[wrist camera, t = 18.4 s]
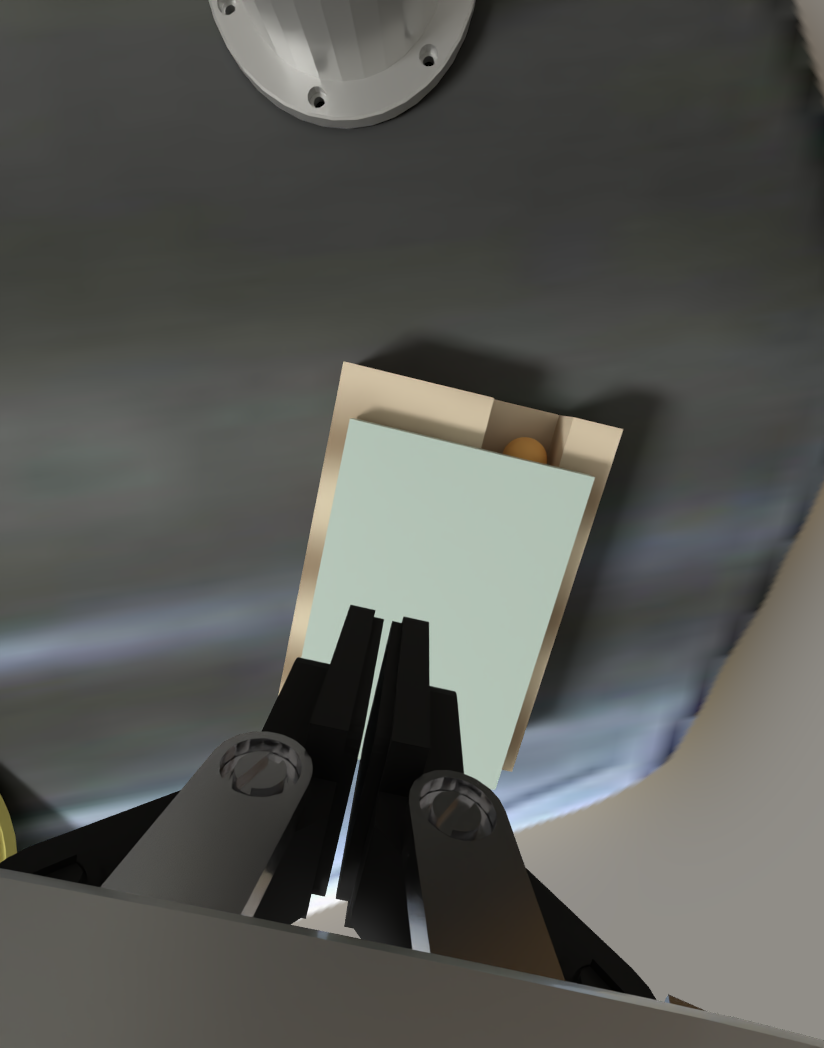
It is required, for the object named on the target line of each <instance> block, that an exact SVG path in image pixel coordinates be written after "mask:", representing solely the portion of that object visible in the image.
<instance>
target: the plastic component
mask: <svg viewBox="0 0 824 1048" xmlns="http://www.w3.org/2000/svg"><path fill="white" fill-rule="evenodd" d="M16 853H17V848H16V838H15V832H14V829H13V825H12V822H11V818H10V815H9V812H8V810H7V807H6V805H5V803H4V800H3V798H2V796H1V795H0V863H1V862H2V861H4V860H5V859H6V858H8V857H10V856H12V855H14V854H16Z"/></svg>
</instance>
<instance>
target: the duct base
mask: <svg viewBox="0 0 824 1048" xmlns="http://www.w3.org/2000/svg"><path fill="white" fill-rule="evenodd" d="M351 418H356V419H360V420H364V421H368V422H372V423H376V424H380V425H385V426H389V427H393V428H397V429H401V430H405V431H410V432H414V433H418V434H422V435H426V436H430V437H435V438H439V439H443V440H447V441H451V442H455V443H460V444H464V445H468V446H472V447H476V448H480V449H485V450H489V451H493V452H497V453H501V454H502V453H503V450H504V449H505V447H506V446H507V445H508V444H509V443H510V442H511V441H512V440H515V439H517V438H521V437H529V438H532V439H535V440H537V441H538V442H539V443H540V444H542V446H543V447H544V449H545V451H546V454H547V465H551V466H555V467H560V468H564V469H568V470H572V471H576V472H580V473H585V474H589V475H591V476H593V477H595V479H594V482H593V485H592V488H591V492H590V495H589V498H588V501H587V504H586V507H585V510H584V514H583V517H582V520H581V523H580V526H579V529H578V532H577V535H576V539H575V542H574V545H573V548H572V551H571V554H570V557H569V560H568V564H567V567H566V570H565V573H564V576H563V579H562V582H561V586H560V589H559V592H558V595H557V598H556V601H555V604H554V607H553V611H552V614H551V617H550V620H549V623H548V626H547V629H546V632H545V636H544V639H543V642H542V645H541V648H540V651H539V654H538V658H537V661H536V664H535V667H534V670H533V673H532V676H531V679H530V683H529V686H528V689H527V692H526V695H525V698H524V701H523V705H522V708H521V711H520V714H519V717H518V720H517V723H516V726H515V730H514V733H513V736H512V739H511V742H510V745H509V748H508V751H507V755H506V758H505V761H504V764H503V767H502V770H507V771H511V772H512V770H513V767H514V764H515V760H516V757H517V754H518V751H519V748H520V745H521V742H522V739H523V736H524V733H525V730H526V727H527V724H528V721H529V717H530V714H531V711H532V708H533V705H534V702H535V699H536V696H537V693H538V690H539V687H540V684H541V681H542V678H543V674H544V671H545V668H546V665H547V662H548V659H549V656H550V653H551V650H552V647H553V644H554V641H555V638H556V634H557V631H558V628H559V625H560V622H561V619H562V616H563V613H564V610H565V607H566V604H567V601H568V598H569V595H570V591H571V588H572V585H573V582H574V579H575V576H576V573H577V570H578V567H579V564H580V561H581V558H582V555H583V552H584V548H585V545H586V542H587V539H588V536H589V533H590V530H591V527H592V524H593V521H594V518H595V515H596V512H597V508H598V505H599V502H600V499H601V496H602V493H603V490H604V487H605V484H606V481H607V478H608V475H609V472H610V469H611V465H612V462H613V459H614V456H615V453H616V450H617V447H618V444H619V441H620V438H621V435H622V432H623V429H620V428H616V427H612V426H608V425H604V424H599V423H595V422H591V421H587V420H583V419H579V418H575V417H569V416H562V415H557V414H553V413H549V412H544V411H540V410H536V409H532V408H528V407H524V406H520V405H516V404H511V403H507V402H503V401H499V400H495V399H494V398H492V397H488V396H484V395H480V394H476V393H472V392H467V391H463V390H459V389H455V388H451V387H447V386H443V385H439V384H434V383H430V382H426V381H422V380H418V379H414V378H410V377H406V376H401V375H397V374H393V373H389V372H385V371H381V370H377V369H373V368H368V367H364V366H360V365H356V364H352V363H348V362H343V367H342V372H341V377H340V383H339V388H338V393H337V398H336V403H335V408H334V413H333V418H332V424H331V429H330V434H329V439H328V444H327V449H326V454H325V459H324V465H323V470H322V475H321V480H320V485H319V490H318V495H317V500H316V505H315V511H314V516H313V521H312V526H311V531H310V536H309V541H308V546H307V552H306V557H305V562H304V567H303V572H302V577H301V582H300V587H299V592H298V598H297V603H296V608H295V613H294V618H293V623H292V628H291V633H290V639H289V644H288V649H287V654H286V659H285V664H284V669H283V674H282V679H281V685H280V690H279V693H280V691H281V689H282V687H283V685H284V683H285V681H286V679H287V676H288V674H289V672H290V670H291V668H292V666H293V664H294V662H295V660H296V658H297V657H300V658H301V657H302V652H303V647H304V642H305V637H306V632H307V627H308V622H309V617H310V612H311V607H312V603H313V598H314V593H315V588H316V583H317V578H318V573H319V568H320V563H321V558H322V553H323V548H324V543H325V539H326V534H327V529H328V524H329V519H330V514H331V509H332V504H333V499H334V494H335V489H336V484H337V479H338V475H339V470H340V465H341V460H342V455H343V450H344V445H345V440H346V435H347V430H348V425H349V420H350V419H351ZM278 696H279V695H278Z"/></svg>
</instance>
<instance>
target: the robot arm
mask: <svg viewBox="0 0 824 1048" xmlns="http://www.w3.org/2000/svg"><path fill="white" fill-rule="evenodd" d="M475 1H476V0H209V3H210V6H211V10H212V13H213V17H214V20H215V22H216V24H217V26H218V29H219V31H220V33H221V35H222V37H223V39H224V42H225V44H226V46H227V48H228V49H229V51H230V53H231V54H232V56H233V58H234V59H235V61H236V63H237V64H238V66H239V67H240V69H241V70H242V71H243V73H244V74H245V75H246V76H247V78H248V79H249V80H250V81H251V82H252V84H253V85H254V86H255V87H256V89H257V90H258V91H259V92H261V93H262V94H263V95H264V96H265V97H266V98H268V99H269V100H270V101H271V102H272V103H274V104H275V105H276V106H277V107H279V108H280V109H282V110H284V111H286V112H288V113H289V114H291V115H293V116H295V117H297V118H298V119H300V120H303V121H307V122H310V123H313V124H316V125H320V126H323V127H332V128H344V129H350V128H358V127H365V126H372V125H375V124H378V123H380V122H383V121H386V120H389V119H391V118H394V117H396V116H398V115H399V114H401V113H403V112H404V111H406V110H407V109H409V108H411V107H412V106H414V105H415V104H417V103H418V102H419V101H420V100H421V99H422V98H423V97H424V96H426V95H427V94H428V93H429V92H430V91H431V90H432V89H433V88H434V87H435V86H436V85H437V84H438V82H439V81H440V80H441V78H442V77H443V76H444V74H445V73H446V72H447V70H448V69H449V67H450V66H451V65H452V63H453V62H454V60H455V58H456V56H457V53H458V51H459V49H460V47H461V45H462V43H463V41H464V39H465V37H466V34H467V31H468V28H469V25H470V21H471V18H472V15H473V11H474V8H475ZM232 12H233V13H232ZM230 13H232V14H230ZM426 62H432V63H433V65H432V66H425V65H424V64H425V63H426ZM319 102H323V103H325V104H324V105H323V106H322V107H320V108H316V105H317V103H319ZM375 611H376V610H373V609H368V608H364V607H359V606H355V605H350V607H349V610H348V613H347V616H346V619H345V622H344V625H343V628H342V630H341V633H340V636H339V639H338V642H337V645H336V648H335V651H334V654H333V657H332V660H331V663H330V664H327V663H323V662H318V661H314V660H309V659H304V658H300V657H297V658H296V660H295V662H294V664H293V666H292V668H291V670H290V672H289V674H288V676H287V679H286V681H285V683H284V685H283V687H282V689H281V691H280V693H279V696H278V698H277V700H276V702H275V704H274V706H273V708H272V710H271V713H270V715H269V717H268V719H267V721H266V723H265V725H264V727H263V730H262V732H249V733H244V734H239V735H237V736H234V737H232V738H230V739H228V740H226V741H224V742H223V743H222V744H221V745H220V746H219V747H217V748H216V749H215V750H214V751H213V752H212V754H211V755H210V756H209V757H208V758H207V760H206V761H205V762H204V763H203V764H202V766H201V767H200V768H199V769H198V770H197V772H196V773H195V774H194V775H193V776H192V778H191V779H190V780H189V781H188V782H187V784H186V785H185V786H184V787H183V788H182V790H180V791H177V792H175V793H172V794H169V795H167V796H164V797H161V798H159V799H156V800H153V801H151V802H148V803H145V804H143V805H140V806H137V807H135V808H132V809H129V810H127V811H124V812H121V813H119V814H116V815H113V816H110V817H108V818H105V819H102V820H100V821H97V822H94V823H92V824H89V825H86V826H84V827H81V828H78V829H76V830H73V831H70V832H68V833H65V834H62V835H60V836H57V837H54V838H52V839H49V840H46V841H44V842H41V843H38V844H36V845H33V846H30V847H28V848H26V849H24V850H22V851H20V852H18V853H16V854H14V855H12V856H10V857H8V858H6V859H5V860H4V861H2V862H1V863H0V1048H824V1040H821V1039H817V1038H813V1037H810V1036H806V1035H802V1034H798V1033H794V1032H790V1031H786V1030H782V1029H778V1028H774V1027H771V1026H767V1025H763V1024H759V1023H755V1022H751V1021H747V1020H743V1019H739V1018H735V1017H730V1016H725V1015H720V1014H716V1013H711V1012H707V1011H705V1010H703V1009H701V1008H698V1007H696V1006H694V1005H691V1004H689V1003H687V1002H685V1001H682V1000H680V999H678V998H675V997H673V996H671V995H669V994H668V996H667V998H666V1000H665V1002H662V1001H657V1000H656V998H655V997H654V995H653V994H652V992H651V990H650V989H649V987H648V986H647V985H646V984H645V982H644V981H643V980H642V979H641V978H640V977H639V976H638V975H637V973H636V972H635V971H634V970H633V969H632V968H631V967H630V966H629V965H628V964H627V963H626V962H625V961H624V960H623V959H622V958H620V957H619V956H618V955H617V954H616V953H615V952H614V951H613V950H612V949H611V948H610V947H609V946H608V945H607V944H606V943H604V941H603V940H601V939H600V938H599V937H598V936H597V935H596V934H595V933H594V932H593V931H592V930H591V929H590V928H589V927H588V926H587V925H586V924H585V923H583V922H582V921H581V920H580V919H579V918H578V917H577V916H576V915H575V914H574V913H573V912H572V911H571V910H570V909H569V908H568V907H567V906H566V905H564V904H563V903H562V902H561V901H560V900H559V899H558V898H557V897H556V896H555V895H554V894H553V893H552V892H551V891H550V890H549V889H548V888H547V887H545V886H544V885H543V884H542V883H541V882H540V881H539V880H538V879H537V878H536V877H535V876H534V875H533V874H532V873H531V872H530V871H529V870H528V869H526V868H525V865H524V862H523V860H522V857H521V854H520V851H519V848H518V845H517V842H516V840H515V837H514V834H513V831H512V828H511V825H510V822H509V820H508V817H507V814H506V811H505V809H504V807H503V806H502V804H501V802H500V800H499V798H498V797H497V796H496V795H495V794H494V793H493V792H492V791H491V790H490V789H489V788H488V787H487V786H485V785H484V784H483V783H481V782H480V781H478V780H477V779H475V778H473V777H471V776H468V775H466V774H464V766H463V755H462V745H461V734H460V723H459V712H458V701H457V694H456V692H455V691H451V690H447V689H442V688H438V687H433V686H430V680H429V622H427V621H422V620H418V619H413V618H409V617H403V620H402V623H399V622H395V621H392V624H391V627H390V632H389V636H388V640H387V644H386V648H385V653H384V657H383V661H382V665H381V669H380V674H379V678H378V682H377V686H376V690H375V695H374V699H373V703H372V707H371V711H370V716H369V720H368V724H367V728H366V733H365V737H364V742H363V747H362V752H361V758H360V764H359V769H358V775H357V781H356V786H355V792H354V798H353V803H352V809H351V814H350V820H349V826H348V831H347V837H346V843H345V848H344V854H343V859H342V865H341V871H340V876H339V882H338V888H337V893H336V899H340V900H345V901H348V906H347V913H346V919H345V925H344V926H345V927H349V928H354V930H355V931H356V932H357V934H358V935H359V936H360V938H361V939H358V938H353V937H349V936H343V935H339V934H334V933H328V932H324V931H319V930H314V929H308V928H303V927H299V926H294V925H290V924H292V923H293V922H295V921H297V920H298V919H300V918H304V919H306V915H307V911H308V907H309V902H310V898H311V894H315V895H320V896H325V894H326V890H327V886H328V882H329V878H330V873H331V869H332V865H333V861H334V856H335V852H336V848H337V844H338V840H339V835H340V831H341V827H342V823H343V819H344V814H345V810H346V806H347V802H348V797H349V793H350V789H351V785H352V781H353V776H354V772H355V768H356V764H357V759H358V755H359V751H360V746H361V742H362V737H363V732H364V728H365V722H366V717H367V711H368V706H369V700H370V695H371V689H372V684H373V678H374V673H375V667H376V662H377V656H378V651H379V645H380V640H381V634H382V629H383V623H384V619H381V618H377V617H374V615H375Z"/></svg>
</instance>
